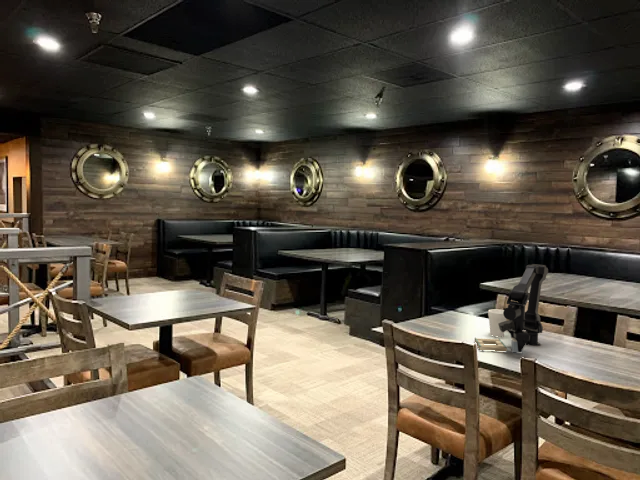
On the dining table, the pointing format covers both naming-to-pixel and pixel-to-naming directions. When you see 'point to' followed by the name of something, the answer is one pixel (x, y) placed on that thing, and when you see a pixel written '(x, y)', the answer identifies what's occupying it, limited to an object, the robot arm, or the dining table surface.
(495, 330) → the foam cup
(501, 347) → the well
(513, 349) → the grey and beige block
